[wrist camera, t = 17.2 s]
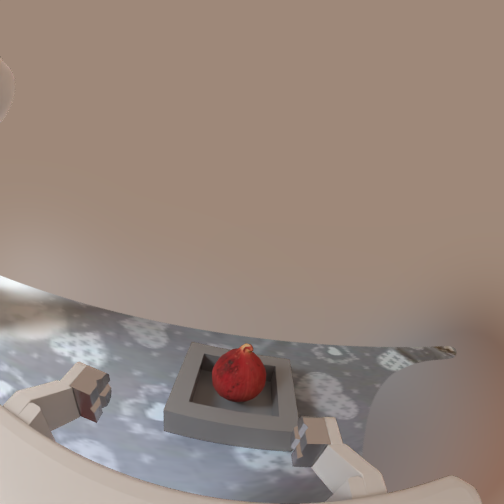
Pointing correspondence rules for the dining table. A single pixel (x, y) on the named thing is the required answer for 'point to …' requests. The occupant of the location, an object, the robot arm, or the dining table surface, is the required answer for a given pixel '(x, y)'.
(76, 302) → the dining table surface
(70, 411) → the robot arm
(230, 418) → the holder
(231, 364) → the red round fruit
